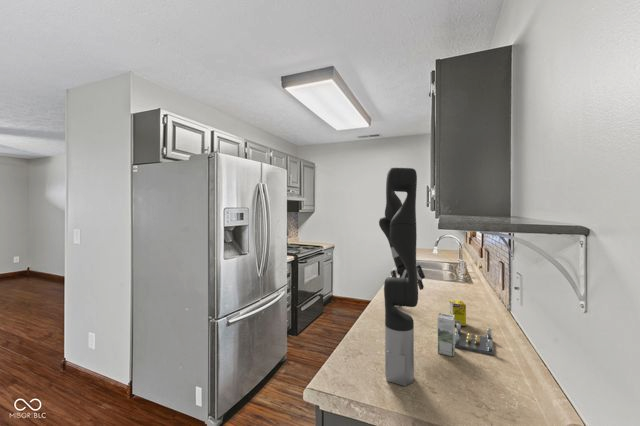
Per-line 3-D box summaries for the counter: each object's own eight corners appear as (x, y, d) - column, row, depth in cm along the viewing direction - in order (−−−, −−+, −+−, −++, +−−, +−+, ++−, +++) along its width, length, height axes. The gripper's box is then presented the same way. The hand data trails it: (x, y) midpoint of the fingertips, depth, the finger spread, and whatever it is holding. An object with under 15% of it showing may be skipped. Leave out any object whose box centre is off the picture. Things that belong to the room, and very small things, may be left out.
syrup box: (455, 351, 111) (454, 314, 111) (453, 357, 106) (453, 319, 106) (439, 347, 114) (439, 311, 114) (437, 354, 109) (437, 316, 109)
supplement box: (466, 327, 133) (466, 304, 133) (452, 326, 134) (452, 303, 134) (462, 322, 139) (462, 300, 139) (449, 321, 140) (449, 299, 140)
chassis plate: (493, 355, 107) (493, 342, 107) (453, 347, 114) (453, 334, 114) (492, 340, 119) (492, 328, 119) (455, 333, 126) (455, 322, 126)
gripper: (389, 256, 124) (401, 293, 118) (418, 250, 126) (431, 287, 121) (384, 260, 131) (394, 295, 125) (412, 255, 133) (423, 289, 127)
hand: (412, 291), depth 123 cm, fingers open, 8 cm apart
